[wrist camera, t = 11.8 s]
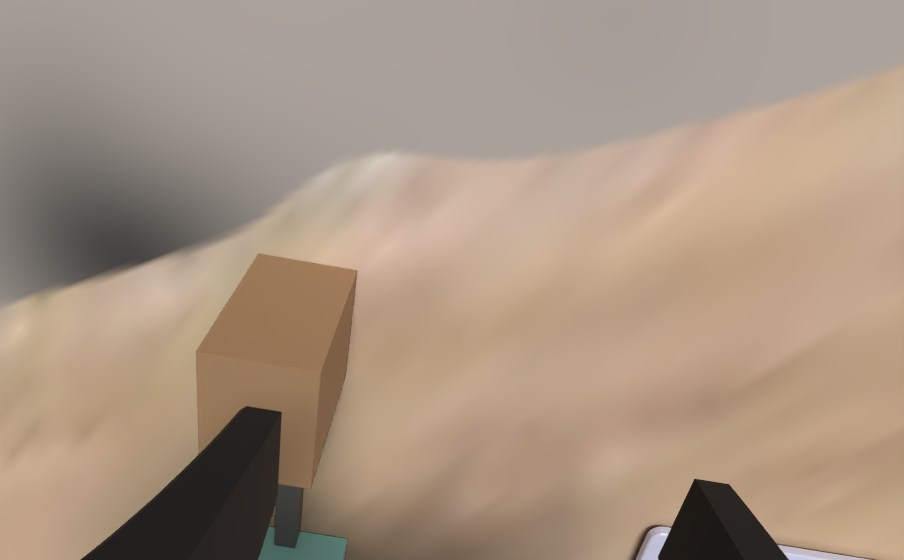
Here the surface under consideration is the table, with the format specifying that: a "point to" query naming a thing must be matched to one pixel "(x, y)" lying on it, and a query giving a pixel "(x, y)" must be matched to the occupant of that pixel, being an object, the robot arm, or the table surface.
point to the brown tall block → (282, 379)
